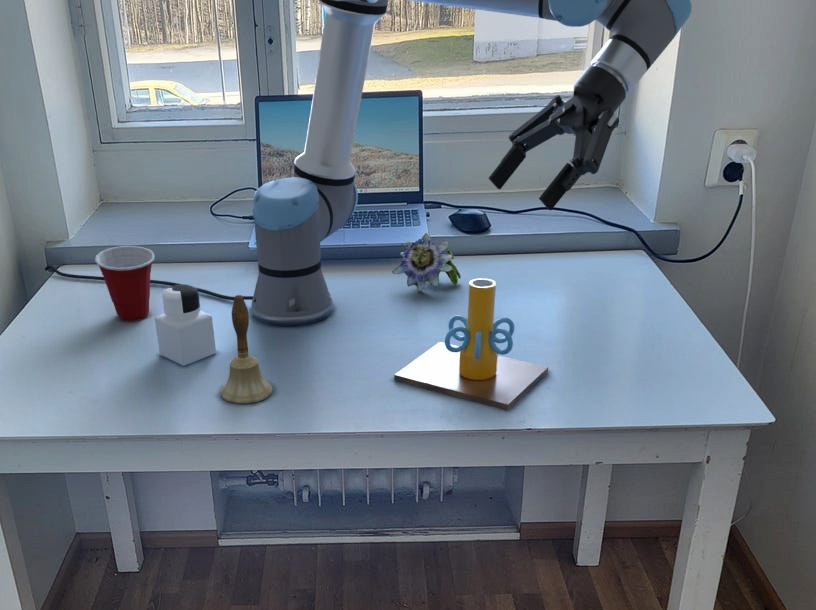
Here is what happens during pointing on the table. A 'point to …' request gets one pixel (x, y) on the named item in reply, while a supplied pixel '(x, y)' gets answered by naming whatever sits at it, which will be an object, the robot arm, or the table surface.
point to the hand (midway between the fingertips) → (518, 194)
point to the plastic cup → (127, 279)
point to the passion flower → (426, 263)
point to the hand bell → (244, 364)
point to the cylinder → (480, 333)
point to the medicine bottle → (184, 326)
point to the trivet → (443, 376)
